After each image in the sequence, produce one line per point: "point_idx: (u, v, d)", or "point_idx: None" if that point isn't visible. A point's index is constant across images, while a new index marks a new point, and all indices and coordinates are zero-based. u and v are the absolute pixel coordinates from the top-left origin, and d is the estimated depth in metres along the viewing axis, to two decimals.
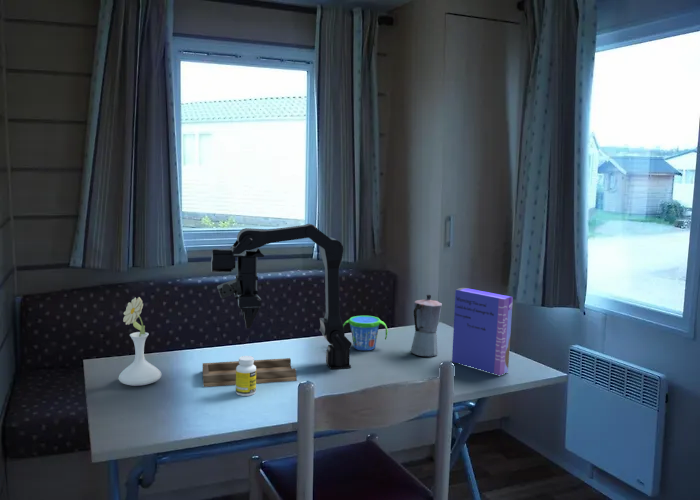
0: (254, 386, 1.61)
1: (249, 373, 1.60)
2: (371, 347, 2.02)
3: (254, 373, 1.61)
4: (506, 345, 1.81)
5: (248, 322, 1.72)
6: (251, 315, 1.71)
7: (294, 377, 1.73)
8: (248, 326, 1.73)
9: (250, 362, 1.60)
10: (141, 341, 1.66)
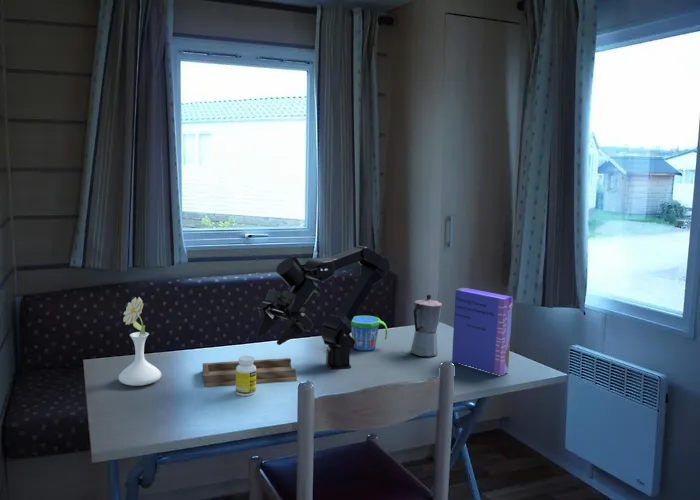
0: (254, 386, 1.61)
1: (249, 373, 1.60)
2: (371, 347, 2.02)
3: (254, 373, 1.61)
4: (506, 345, 1.81)
5: (283, 339, 1.63)
6: (290, 334, 1.64)
7: (294, 377, 1.73)
8: (279, 342, 1.63)
9: (250, 362, 1.60)
10: (141, 341, 1.66)
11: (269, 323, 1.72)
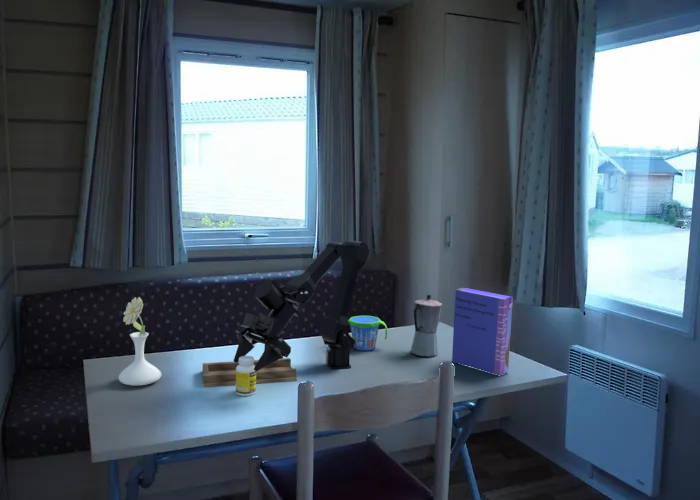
0: (254, 386, 1.61)
1: (249, 373, 1.60)
2: (371, 347, 2.02)
3: (254, 373, 1.61)
4: (506, 345, 1.81)
5: (260, 365, 1.58)
6: (268, 360, 1.59)
7: (294, 377, 1.73)
8: (256, 368, 1.58)
9: (250, 362, 1.60)
10: (141, 341, 1.66)
11: (247, 348, 1.67)
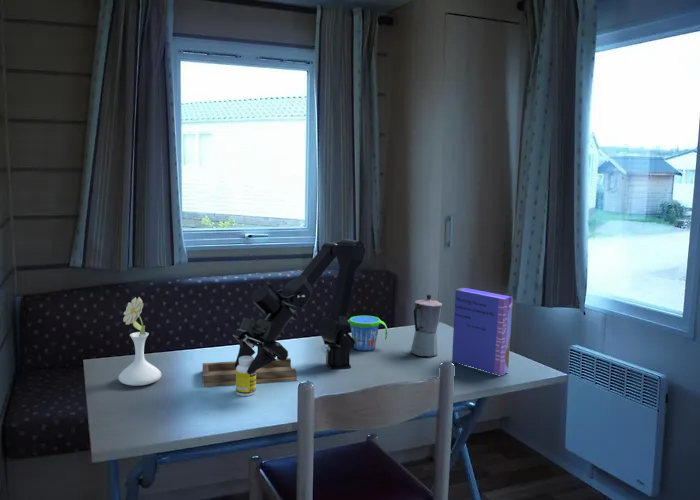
0: (254, 386, 1.61)
1: None
2: (371, 347, 2.02)
3: (254, 373, 1.61)
4: (506, 345, 1.81)
5: (253, 367, 1.59)
6: (261, 363, 1.60)
7: (294, 377, 1.73)
8: (250, 371, 1.59)
9: (250, 362, 1.60)
10: (141, 341, 1.66)
11: (247, 353, 1.66)
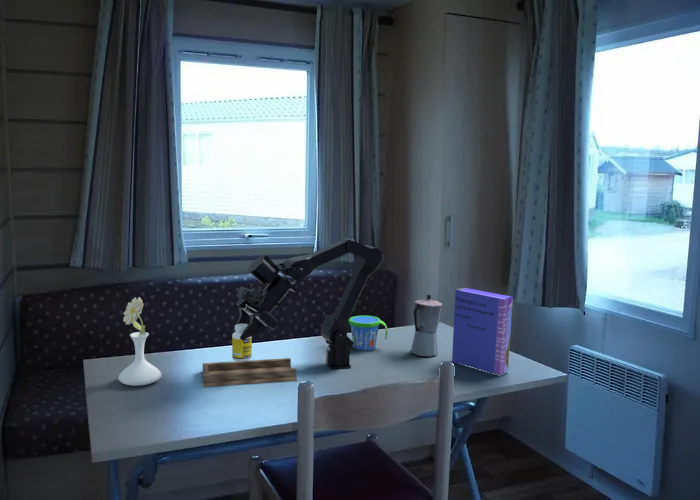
0: (248, 353, 1.69)
1: None
2: (371, 347, 2.02)
3: (248, 340, 1.68)
4: (506, 345, 1.81)
5: (246, 334, 1.66)
6: (253, 330, 1.67)
7: (294, 377, 1.73)
8: (242, 337, 1.67)
9: (244, 329, 1.68)
10: (141, 341, 1.66)
11: (247, 321, 1.73)
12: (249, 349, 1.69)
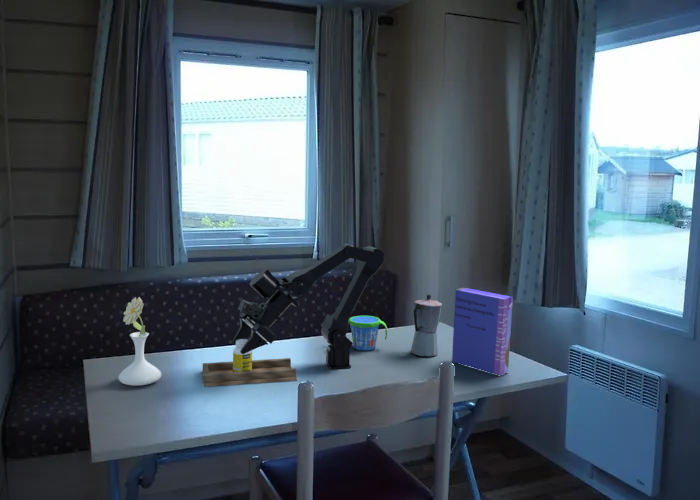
0: (248, 368, 1.73)
1: (242, 355, 1.72)
2: (371, 347, 2.02)
3: (248, 356, 1.72)
4: (506, 345, 1.81)
5: (246, 348, 1.69)
6: (254, 345, 1.69)
7: (294, 377, 1.73)
8: (243, 351, 1.69)
9: None
10: (141, 341, 1.66)
11: (247, 332, 1.79)
12: (249, 364, 1.73)
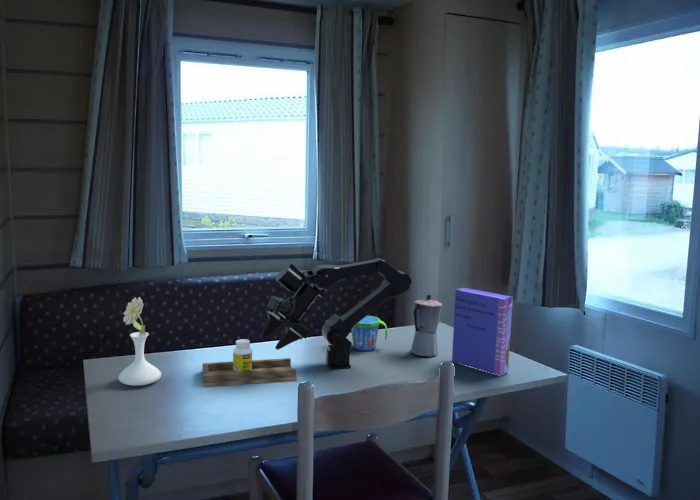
0: (248, 368, 1.73)
1: (242, 355, 1.72)
2: (371, 347, 2.02)
3: (248, 356, 1.72)
4: (506, 345, 1.81)
5: (281, 344, 1.74)
6: (288, 340, 1.74)
7: (294, 377, 1.73)
8: (278, 347, 1.74)
9: (244, 345, 1.72)
10: (141, 341, 1.66)
11: (274, 324, 1.83)
12: (249, 364, 1.73)
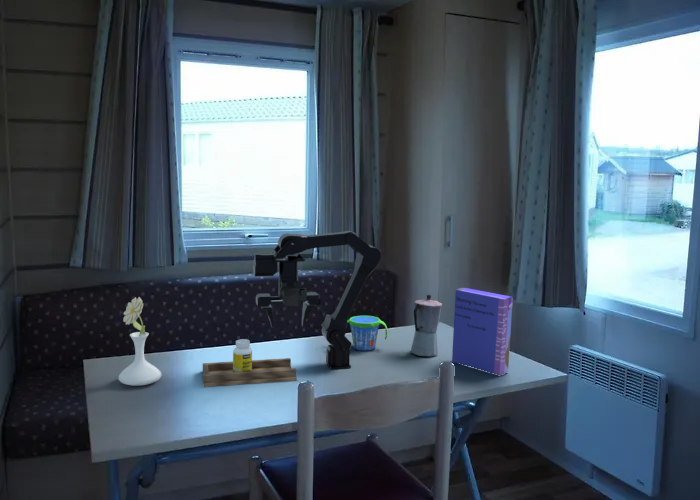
0: (248, 368, 1.73)
1: (242, 355, 1.72)
2: (371, 347, 2.02)
3: (248, 356, 1.72)
4: (506, 345, 1.81)
5: None
6: None
7: (294, 377, 1.73)
8: None
9: (244, 345, 1.72)
10: (141, 341, 1.66)
11: None
12: (249, 364, 1.73)
